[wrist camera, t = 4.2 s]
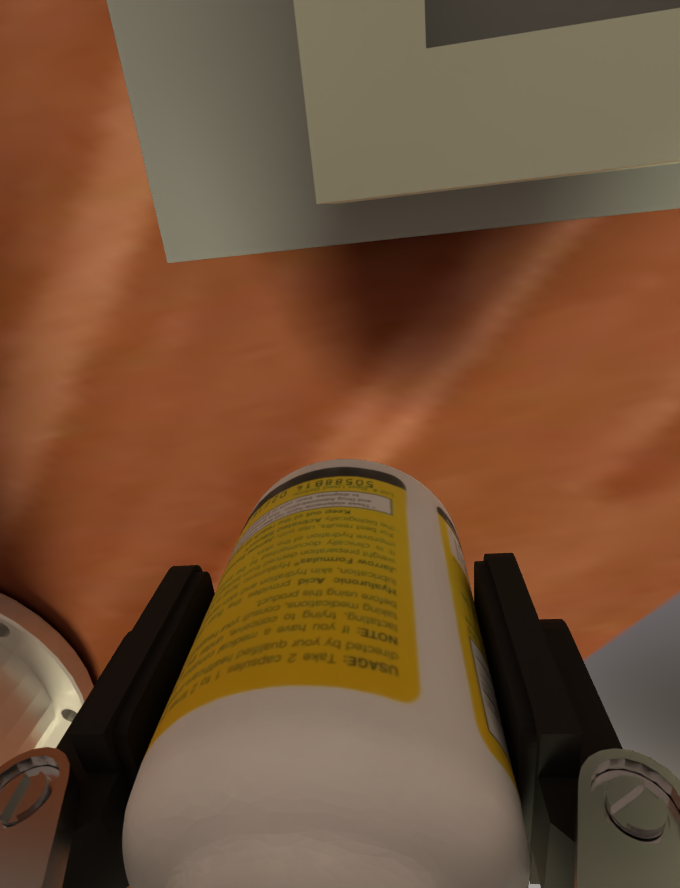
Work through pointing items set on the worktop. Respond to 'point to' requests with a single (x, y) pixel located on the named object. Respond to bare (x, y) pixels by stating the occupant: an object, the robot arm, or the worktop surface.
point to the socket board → (264, 130)
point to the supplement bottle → (333, 708)
